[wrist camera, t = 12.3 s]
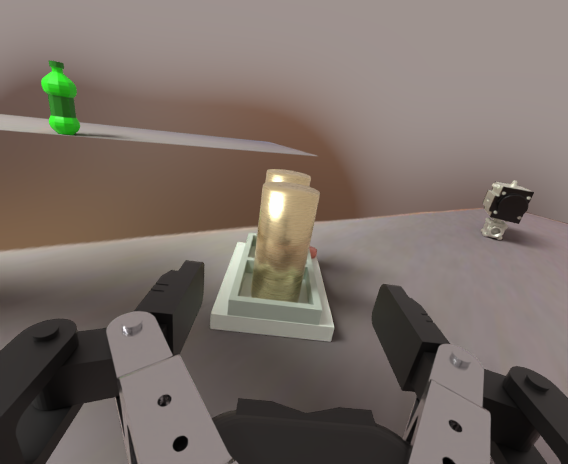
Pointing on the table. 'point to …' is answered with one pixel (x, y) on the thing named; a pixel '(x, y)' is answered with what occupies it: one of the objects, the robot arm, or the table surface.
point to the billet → (283, 240)
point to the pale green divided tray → (271, 302)
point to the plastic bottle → (61, 100)
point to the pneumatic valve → (504, 207)
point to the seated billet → (287, 177)
